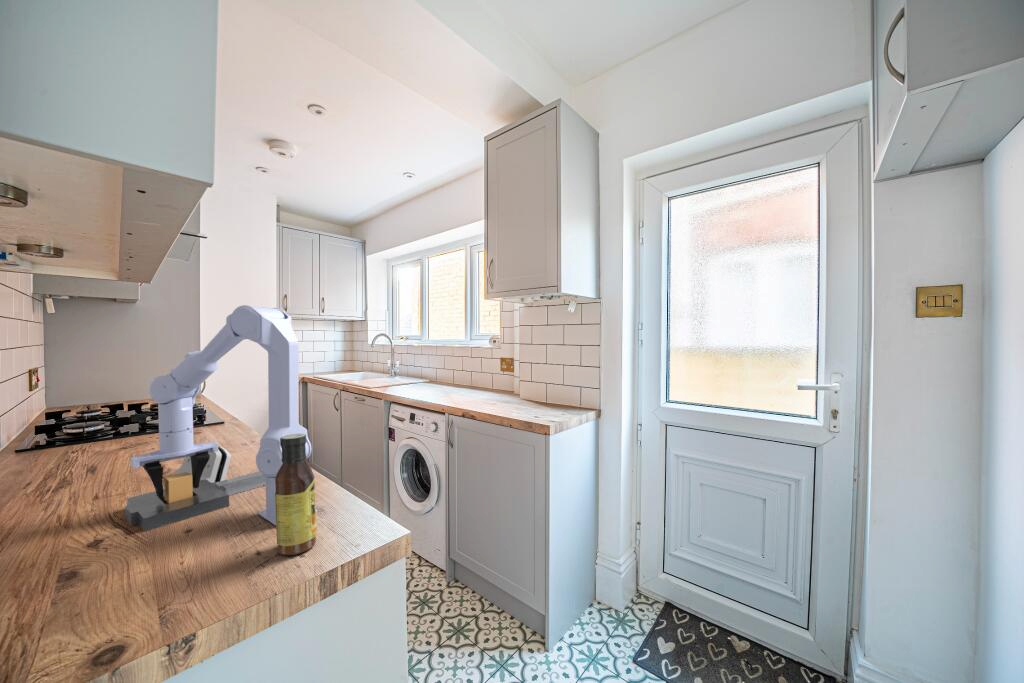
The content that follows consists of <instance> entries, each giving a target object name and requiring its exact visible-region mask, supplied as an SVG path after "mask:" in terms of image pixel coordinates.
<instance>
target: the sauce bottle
mask: <svg viewBox="0 0 1024 683" xmlns="http://www.w3.org/2000/svg"><path fill="white" fill-rule="evenodd" d="M306 441H307V440H306V434H290V435H286V436H283V437H281V438H280V445H281V448H282V459H281V460H282V462H283V464H282V466H281V467H280V469H279V471H278V473H277V475H276V478H275V486H276V492H275V506H276V525H275V527H276V529H275V530H276V544H277V550H278V553H279V554H281V555H283V556H295V555H298V554H299V555H300V554H302V553H304V552H308V551H309V550H311V549H312V548H313V547H314V546H315V544H316V542H317V537H316V536H317V534H318V532H317V512H316V509H317V505H316V502H317V500H316V481H315V479H316V477H315V475H314V473H313V472H314V471H313V470H312V467H311V464H310V463H309V461H308V459H307V458H306V446H305V444H306Z"/></svg>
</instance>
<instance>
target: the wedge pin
mask: <svg viewBox="0 0 1024 683" xmlns="http://www.w3.org/2000/svg"><path fill="white" fill-rule="evenodd" d="M163 489H164V500H165V501H166V502H167V504H168V503H171V502H175V501H179V500H183V499H186V498H190V497H193V483H192V475H191V474H190V473H188V472H184V473H179V474H175V475H173V474H170V475H166V476H164V477H163Z"/></svg>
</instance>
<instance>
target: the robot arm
mask: <svg viewBox="0 0 1024 683" xmlns="http://www.w3.org/2000/svg"><path fill="white" fill-rule="evenodd" d="M225 320H226V322H225V325H224V326H222V328H221V329H220V330H219V331H218V332H217V334H215V336H214V337H213V338H212V339H211V340H210V341H209V342H208V343H207V345H206V346H205V347H204V348H203V349H202V350H200V351H199V350H196V351H192V352H187V353H186V355H184V359H183V360H181V362H180V363H179V364H178V365H177V366H175V367H173V368H172V369H171V370H170V372H169V373H167V374H165V375H158V376H156V377H154V379H153V380H152V382H151V383H150V386H149V393H150V396H151V398H152V400H153V401H155V402H156V403H157V408H158V410H157V411H158V438H159V439H158V443H159V450H157V451H154V452H149V453H144V454H141V455H136V456H132V457H130V467H131V469H137V468H140V467H143V469H144V470H145V472H146V473H147V475H148V476H149V478H150V480H151V482H152V485H153V486H154V488H155V489H154V490H155V491H156V494H157V496H158V497H159V498H160V497H163V489H164V482H163V479H164V477H163V476H164V475H163V473H164V467H163V466H162V463H163V462H167V461H173V460H177V459H183V458H185V457H188V456H190V458H191V466H192V483H193V488H199V482H200V478H201V475H202V472H203V470H204V468H205V466H206V464H207V462H208V461H209V459H210V455H209V454H208V452H217V451H218V446H219V442H216V441H213V442H206V443H198V444H197V443H196V444H194V441H195V440H194V418H193V417H194V414H193V413H194V412H193V411H194V410H193V408H194V406H195V404H196V398H197V396H198V394H199V392H200V386H201V384H203V383H204V382H205V381H206V380H207V379H208V378H209V377H210V376H212V374H213V373H215V371H217V370H218V367H219V365H218V361H219V360H220V359H221V358H222V357H224V356H226V355H227V354H228V353H229V352H230V351H231V350H233V348H235V347H236V346H238V345H239V344H240V343H242V341H244V340H249V341H251V342H254V343H257V344H258V345H259V346H261V347H262V348H263V349H264V350H266V351H267V354H268V356H267V358H268V359H267V360H268V362H267V365H268V368H267V369H268V373H267V374H268V376H267V377H268V380H267V381H268V391H267V392H268V428H267V429H266V430H265V432H264V434H263V435H262V436H261V437H260V439H259V449H258V451H257V453H256V455H255V465H256V467H257V469H258V472H259V471H260V472H261V473H263V476H264V477H266V485H265V506H266V507H265V509H263V510H260V511H258V515H259V516H261V517H262V518H263V519H265V520H267V521H269V522H270V523H271V524H273V525H274V526H276V506H275V492H276V486H275V478H276V475H277V473H278V471H279V469H280V467H281V466H282V464H283V462H282V460H281V459H282V448H281V445H280V438H281V437H283V436H286V435H290V434H306V440H307V441H306V444H305V446H306V458H307V460H308V459H309V458H310V456H311V454H312V450H313V449H312V444H311V441H310V440H309V436H308V429H307V428H306V427H304V426H302V425H301V424H300V419H299V418H300V415H299V414H300V412H299V411H300V410H299V409H300V404H299V403H300V398H299V394H300V392H299V388H300V386H299V378H300V377H299V372H300V370H299V368H300V366H299V365H300V364H299V340H298V338H297V336H296V334H295V332H294V329H293V326H292V324H293V323H292V322H293V321H292V320H293V318H292V317H291V316H290V315H289V314H288V313H286V312H285V311H284V310H283V309H281V308H278V307H261V306H251V305H245V304H243V305H240V306H237V307H236V308H235V309H234V310H233V312H232V313H230V314H228V315H227V316H226V319H225ZM317 512H318V509H317V508H316V513H317Z"/></svg>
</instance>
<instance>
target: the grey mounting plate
mask: <svg viewBox="0 0 1024 683" xmlns="http://www.w3.org/2000/svg"><path fill="white" fill-rule="evenodd" d="M263 485H265V486H266V477H264V476H263V473H261V472H260V471H259V470H258V471H256V472H255V471H254V472H252V473H247V474H243V475H240V476H236V477H233V478H228V479H225V480H224V481H220V482H214V483H211V482H209V481H208V480H206V479H204V480H200V482H199V488H193V497H190V498H186V499H183V500H179V501H175V502H171V503H168V504H167V502H166V501H165V500H164V488H163V497H160V498H159V497H158V496H157V494H156V490H155V491H152V492H147V493H143V494H139V495H135V496H131V497H126V505H125V507H124V508H125V512H124V513H125V519H126V521H127V522H128V523H129V525H130V526H135V525H139V527H140V528H141V529H142V531H143V530H144V531H143V532H147V531H150V529H151V530H153V529H152V528H154V529H157V528H160V527H159V526H161V527H163V526H162V525H164V526H166V524H167V525H170V524H169V523H171V524H173V522H174V523H176V522H181V521H184V520H186V519H190V517H191V518H194V517H197V516H200V515H204V514H208V513H211V512H213V510H214V511H217V510H220V508H221V509H224V508H226V507H227V508H228V507H230V496H233V494H234V495H237V494H241V493H243V491H244V492H247V490H248V491H251V490H254V489H253V488H255V489H257V487H258V488H261V487H260V486H262V487H264V486H263ZM250 489H251V490H250ZM240 492H241V493H240ZM236 493H237V494H236ZM229 495H230V496H229ZM210 511H211V512H210ZM156 527H157V528H156ZM146 530H147V531H146Z"/></svg>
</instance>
